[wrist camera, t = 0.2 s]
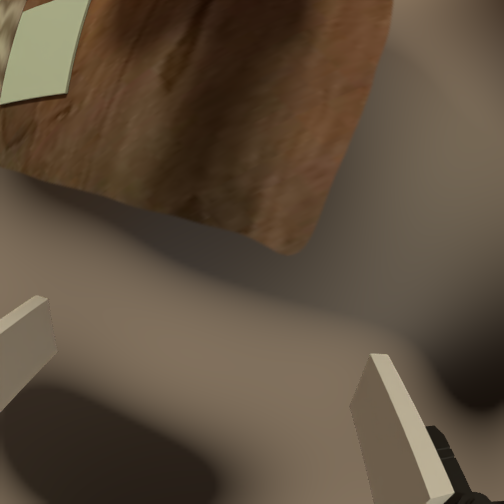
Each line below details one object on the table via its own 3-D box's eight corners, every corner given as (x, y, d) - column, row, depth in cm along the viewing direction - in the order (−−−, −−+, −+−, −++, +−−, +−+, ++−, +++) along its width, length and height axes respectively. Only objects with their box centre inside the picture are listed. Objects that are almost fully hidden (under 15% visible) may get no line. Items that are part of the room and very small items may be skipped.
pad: (24, 13, 30) (22, 12, 29) (94, -9, 30) (92, -11, 29) (1, 104, 35) (-1, 104, 34) (67, 93, 35) (65, 92, 34)
